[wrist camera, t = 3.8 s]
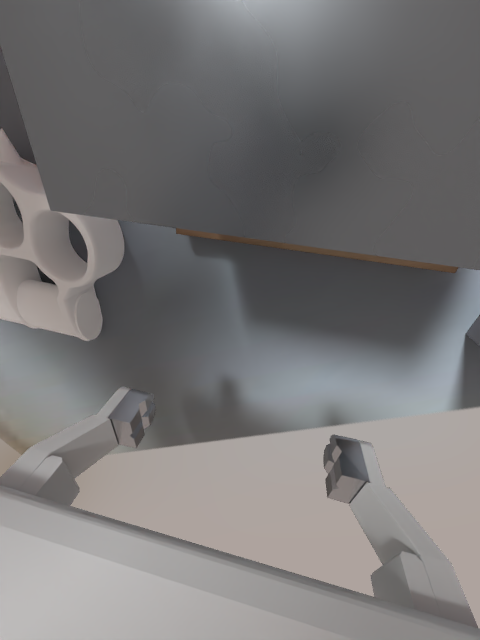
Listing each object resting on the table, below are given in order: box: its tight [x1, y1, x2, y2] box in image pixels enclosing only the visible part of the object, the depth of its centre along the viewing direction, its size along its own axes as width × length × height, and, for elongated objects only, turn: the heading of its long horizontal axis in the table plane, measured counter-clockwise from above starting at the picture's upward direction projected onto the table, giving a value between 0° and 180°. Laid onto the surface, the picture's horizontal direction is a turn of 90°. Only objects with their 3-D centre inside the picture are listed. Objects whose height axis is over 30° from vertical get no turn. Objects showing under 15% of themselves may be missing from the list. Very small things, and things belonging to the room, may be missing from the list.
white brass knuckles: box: [0, 127, 124, 341], centre depth 18 cm, size 3×18×15 cm
